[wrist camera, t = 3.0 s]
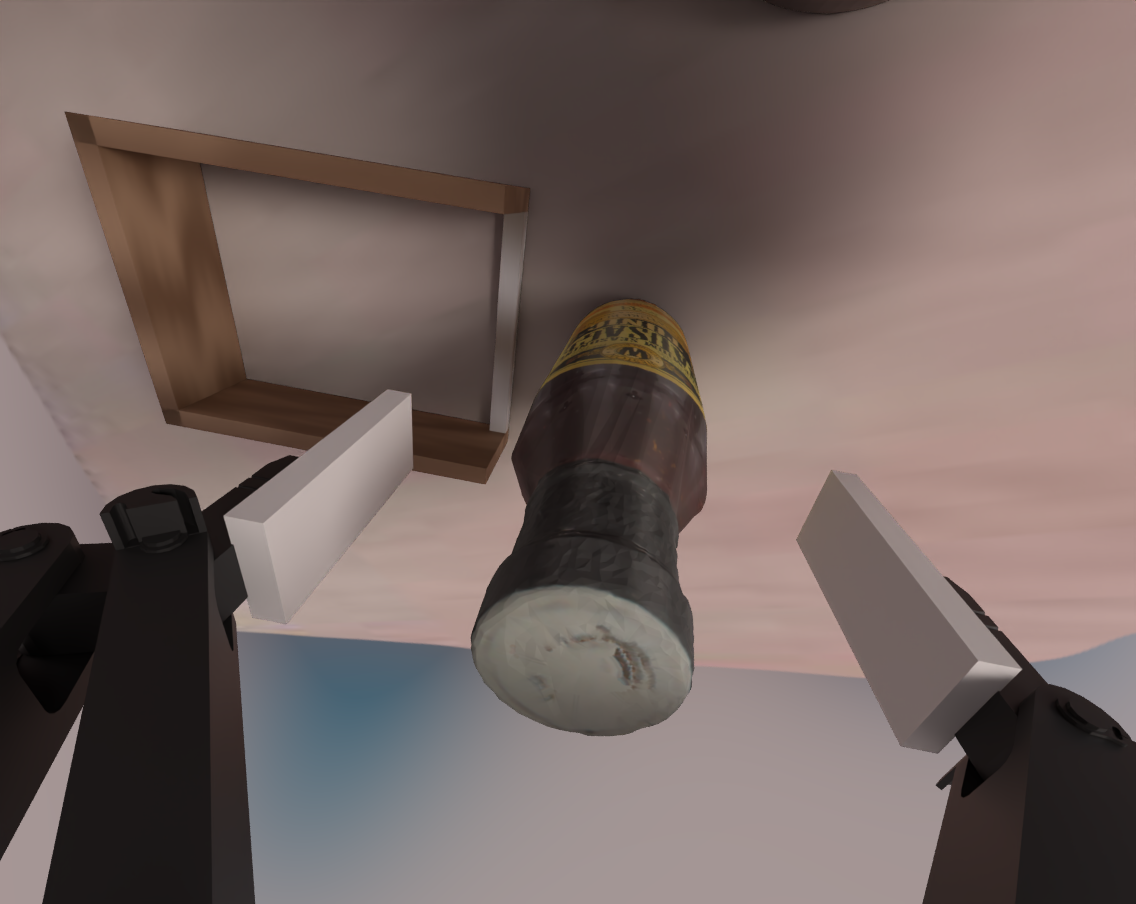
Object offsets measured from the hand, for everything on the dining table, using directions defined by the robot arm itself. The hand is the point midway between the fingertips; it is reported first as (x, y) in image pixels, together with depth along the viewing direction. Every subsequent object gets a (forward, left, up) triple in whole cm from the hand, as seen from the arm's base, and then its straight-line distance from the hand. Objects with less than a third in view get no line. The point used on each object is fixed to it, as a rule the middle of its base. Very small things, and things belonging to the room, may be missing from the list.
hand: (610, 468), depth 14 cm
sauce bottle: (0, 0, -13) cm, 13 cm away
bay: (0, -15, -12) cm, 19 cm away
